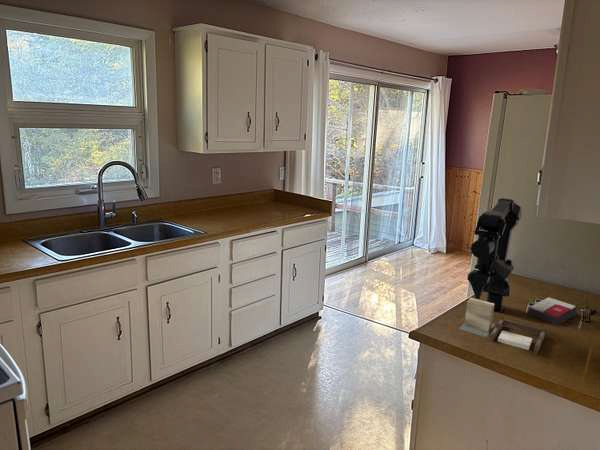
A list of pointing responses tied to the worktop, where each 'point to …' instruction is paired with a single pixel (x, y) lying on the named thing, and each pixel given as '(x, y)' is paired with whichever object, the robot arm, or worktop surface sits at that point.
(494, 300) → the robot arm
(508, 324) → the rack
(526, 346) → the offcut upper
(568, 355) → the worktop surface
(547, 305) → the red white carton
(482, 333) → the mat
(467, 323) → the cream rectangular block
